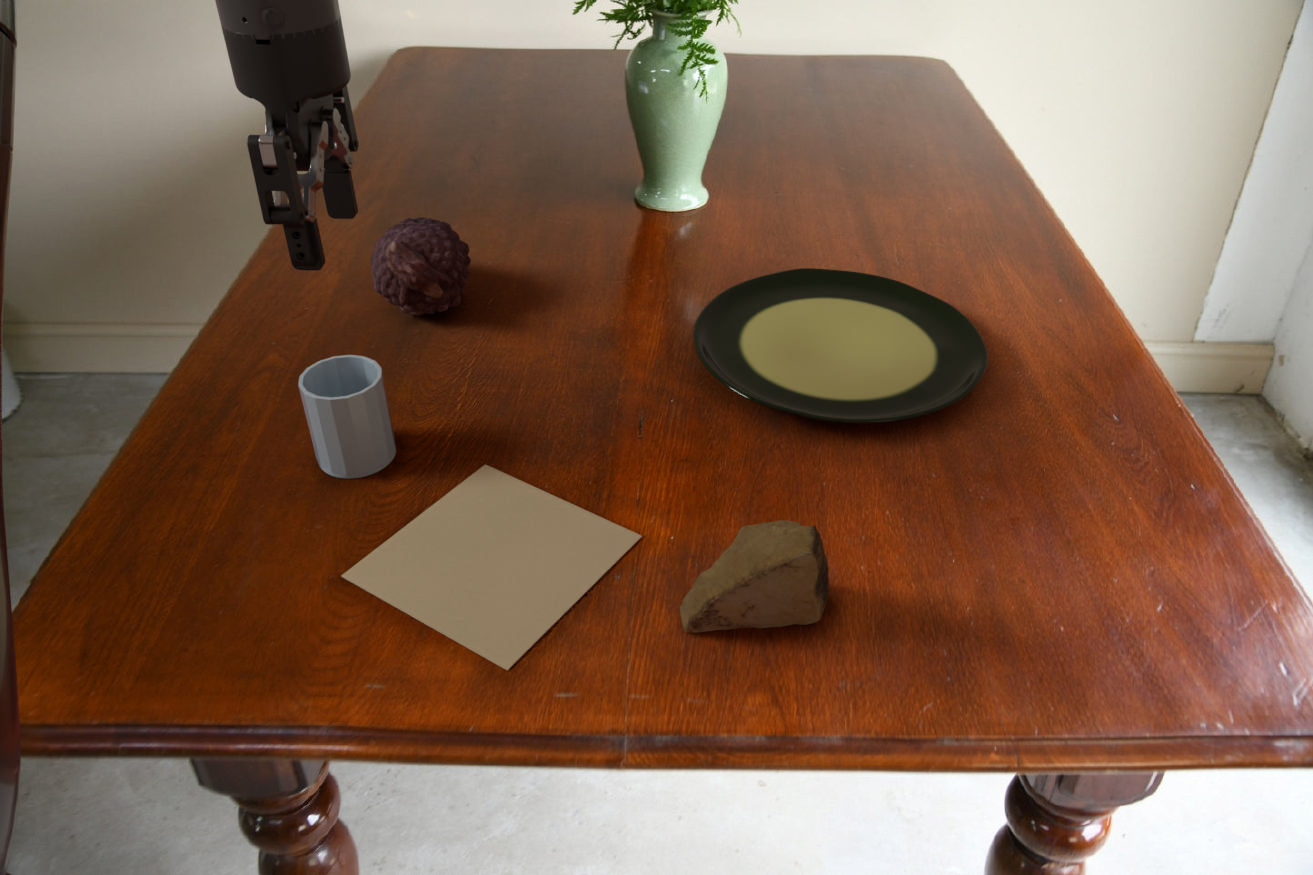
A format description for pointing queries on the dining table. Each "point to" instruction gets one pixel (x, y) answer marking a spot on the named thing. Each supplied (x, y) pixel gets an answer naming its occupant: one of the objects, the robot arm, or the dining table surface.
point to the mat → (493, 563)
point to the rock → (761, 581)
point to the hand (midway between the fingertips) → (327, 241)
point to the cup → (348, 415)
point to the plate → (840, 346)
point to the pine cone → (420, 266)
